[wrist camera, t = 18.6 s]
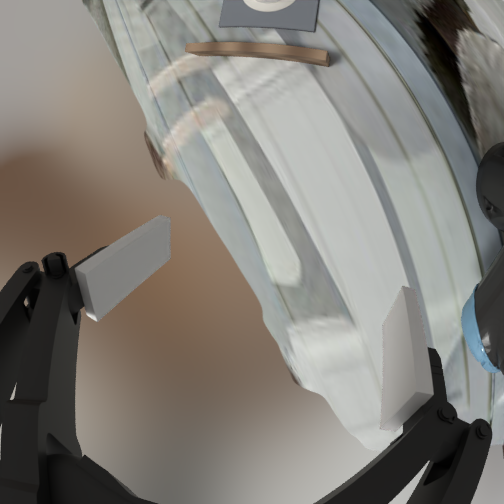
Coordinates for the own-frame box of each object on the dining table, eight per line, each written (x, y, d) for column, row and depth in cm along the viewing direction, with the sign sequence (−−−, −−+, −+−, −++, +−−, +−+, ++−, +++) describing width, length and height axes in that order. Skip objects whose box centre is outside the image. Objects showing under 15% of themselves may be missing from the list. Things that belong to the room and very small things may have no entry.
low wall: (329, 58, 34) (327, 51, 30) (328, 67, 35) (325, 60, 31) (201, 48, 39) (186, 43, 35) (200, 56, 40) (185, 51, 36)
